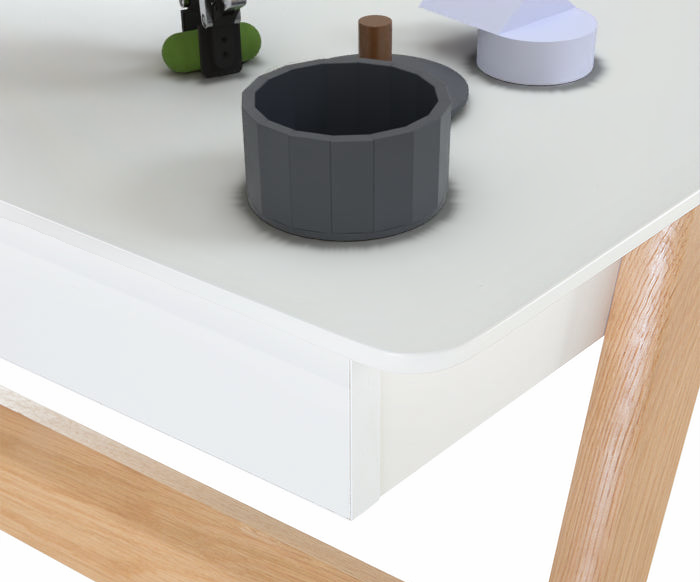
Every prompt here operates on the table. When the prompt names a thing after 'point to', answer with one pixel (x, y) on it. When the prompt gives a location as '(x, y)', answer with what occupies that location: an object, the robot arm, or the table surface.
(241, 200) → the table surface
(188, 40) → the pickle
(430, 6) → the wedge on round base
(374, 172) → the pot
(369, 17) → the lid
